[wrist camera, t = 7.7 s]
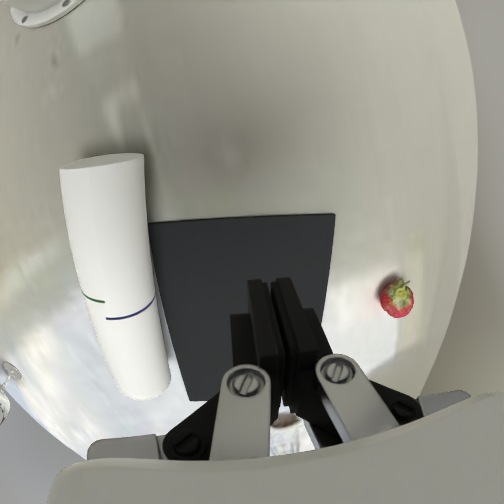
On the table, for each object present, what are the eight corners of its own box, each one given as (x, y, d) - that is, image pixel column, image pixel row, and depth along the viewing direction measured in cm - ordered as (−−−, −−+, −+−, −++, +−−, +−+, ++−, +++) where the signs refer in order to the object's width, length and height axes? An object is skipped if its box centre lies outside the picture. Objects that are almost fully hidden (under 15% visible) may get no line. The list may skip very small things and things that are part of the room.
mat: (147, 223, 26) (146, 224, 25) (334, 213, 27) (335, 214, 27) (189, 399, 38) (189, 401, 38) (307, 389, 40) (307, 391, 39)
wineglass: (21, 368, 34) (-3, 418, 23) (26, 384, 36) (6, 431, 25) (-2, 355, 32) (-28, 401, 22) (4, 372, 35) (-18, 416, 24)
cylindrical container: (147, 150, 23) (169, 354, 34) (75, 158, 21) (117, 357, 32) (138, 162, 17) (173, 398, 28) (44, 174, 15) (113, 400, 26)
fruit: (375, 315, 34) (391, 340, 30) (373, 279, 31) (393, 304, 27) (402, 304, 34) (420, 327, 29) (402, 268, 31) (424, 290, 27)
